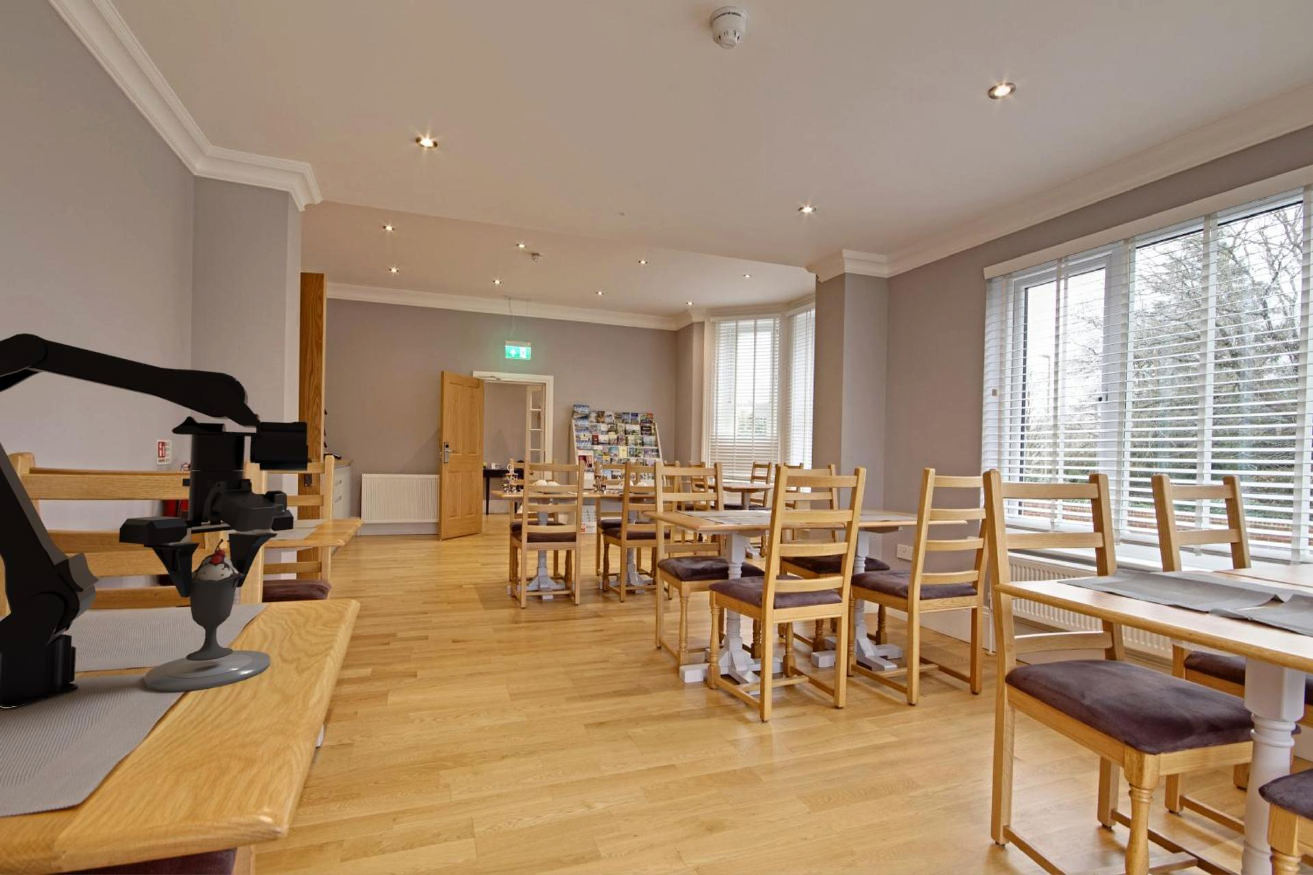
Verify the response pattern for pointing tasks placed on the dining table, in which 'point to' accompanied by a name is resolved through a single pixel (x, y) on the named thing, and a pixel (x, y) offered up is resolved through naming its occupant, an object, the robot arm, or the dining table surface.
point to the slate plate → (207, 671)
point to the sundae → (212, 601)
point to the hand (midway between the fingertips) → (212, 592)
